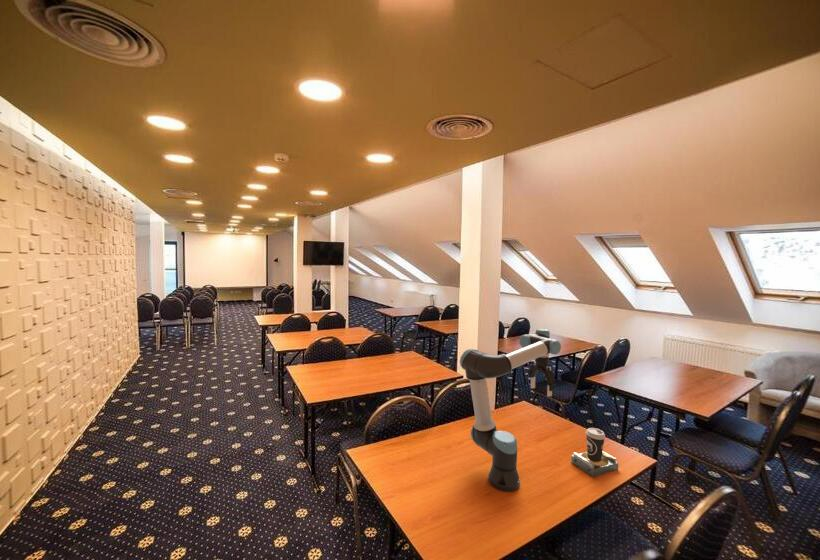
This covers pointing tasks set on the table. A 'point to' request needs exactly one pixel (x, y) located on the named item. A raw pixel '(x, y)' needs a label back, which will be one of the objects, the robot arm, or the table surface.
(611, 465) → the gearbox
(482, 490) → the table surface
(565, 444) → the table surface
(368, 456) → the table surface
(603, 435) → the coffee cup
